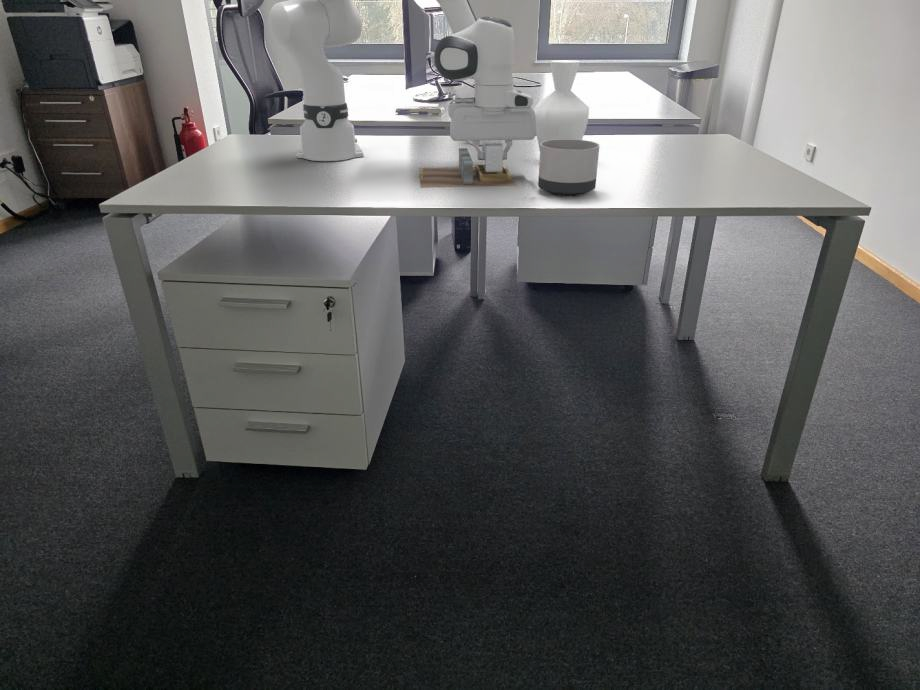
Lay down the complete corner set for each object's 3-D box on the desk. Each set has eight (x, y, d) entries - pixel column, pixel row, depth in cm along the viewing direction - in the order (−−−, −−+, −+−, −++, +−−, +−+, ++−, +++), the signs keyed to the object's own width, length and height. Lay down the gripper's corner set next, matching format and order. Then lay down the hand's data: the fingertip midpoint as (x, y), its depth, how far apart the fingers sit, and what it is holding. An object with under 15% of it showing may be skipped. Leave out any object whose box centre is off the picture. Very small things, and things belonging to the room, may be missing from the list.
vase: (534, 155, 175) (539, 59, 163) (584, 157, 173) (593, 59, 161) (529, 166, 163) (534, 63, 151) (583, 168, 160) (592, 63, 149)
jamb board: (419, 172, 157) (418, 147, 154) (504, 170, 158) (505, 146, 155) (420, 192, 139) (419, 164, 136) (516, 190, 140) (517, 162, 138)
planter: (556, 202, 132) (560, 152, 127) (527, 188, 142) (529, 141, 137) (606, 195, 137) (611, 147, 132) (574, 182, 147) (578, 137, 142)
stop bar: (485, 172, 144) (485, 145, 141) (481, 164, 151) (482, 139, 148) (502, 171, 144) (503, 145, 141) (498, 164, 151) (498, 139, 148)
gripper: (449, 99, 137) (449, 162, 143) (539, 98, 138) (536, 161, 145) (447, 96, 142) (448, 157, 149) (534, 95, 143) (531, 156, 150)
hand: (492, 159), depth 147 cm, fingers closed on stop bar, 4 cm apart
